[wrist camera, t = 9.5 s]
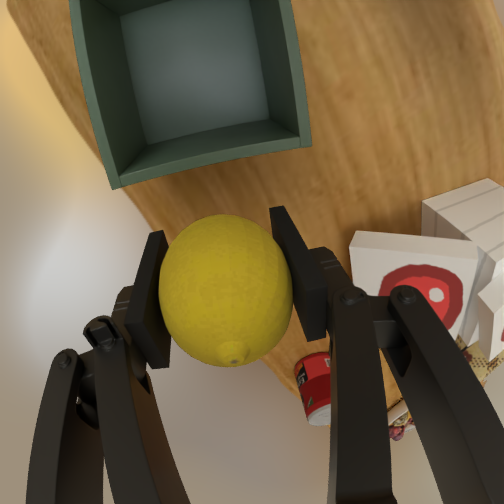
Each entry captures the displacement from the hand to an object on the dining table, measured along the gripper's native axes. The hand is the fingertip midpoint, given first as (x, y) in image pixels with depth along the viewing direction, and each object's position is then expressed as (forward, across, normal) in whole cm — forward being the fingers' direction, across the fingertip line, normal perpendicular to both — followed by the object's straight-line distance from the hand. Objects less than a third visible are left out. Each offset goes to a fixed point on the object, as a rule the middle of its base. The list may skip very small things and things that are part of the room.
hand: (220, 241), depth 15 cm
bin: (+16, 0, +11) cm, 19 cm away
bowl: (+16, +46, -79) cm, 93 cm away
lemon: (+1, 0, 0) cm, 1 cm away
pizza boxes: (+16, +29, -16) cm, 36 cm away
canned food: (+16, +10, -37) cm, 42 cm away
